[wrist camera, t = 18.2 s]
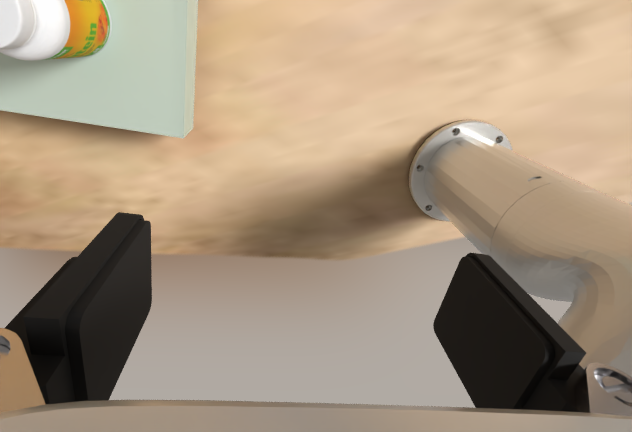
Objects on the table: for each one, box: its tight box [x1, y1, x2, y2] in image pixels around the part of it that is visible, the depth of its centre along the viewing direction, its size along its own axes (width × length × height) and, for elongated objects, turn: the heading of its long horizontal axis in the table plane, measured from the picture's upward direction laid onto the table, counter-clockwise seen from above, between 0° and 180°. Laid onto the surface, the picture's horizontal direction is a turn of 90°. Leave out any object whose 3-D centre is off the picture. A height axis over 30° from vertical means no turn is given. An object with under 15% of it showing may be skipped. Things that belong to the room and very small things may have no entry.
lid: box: [0, 0, 198, 138], centre depth 28 cm, size 16×16×4 cm
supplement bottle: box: [0, 0, 112, 61], centre depth 22 cm, size 5×5×10 cm
